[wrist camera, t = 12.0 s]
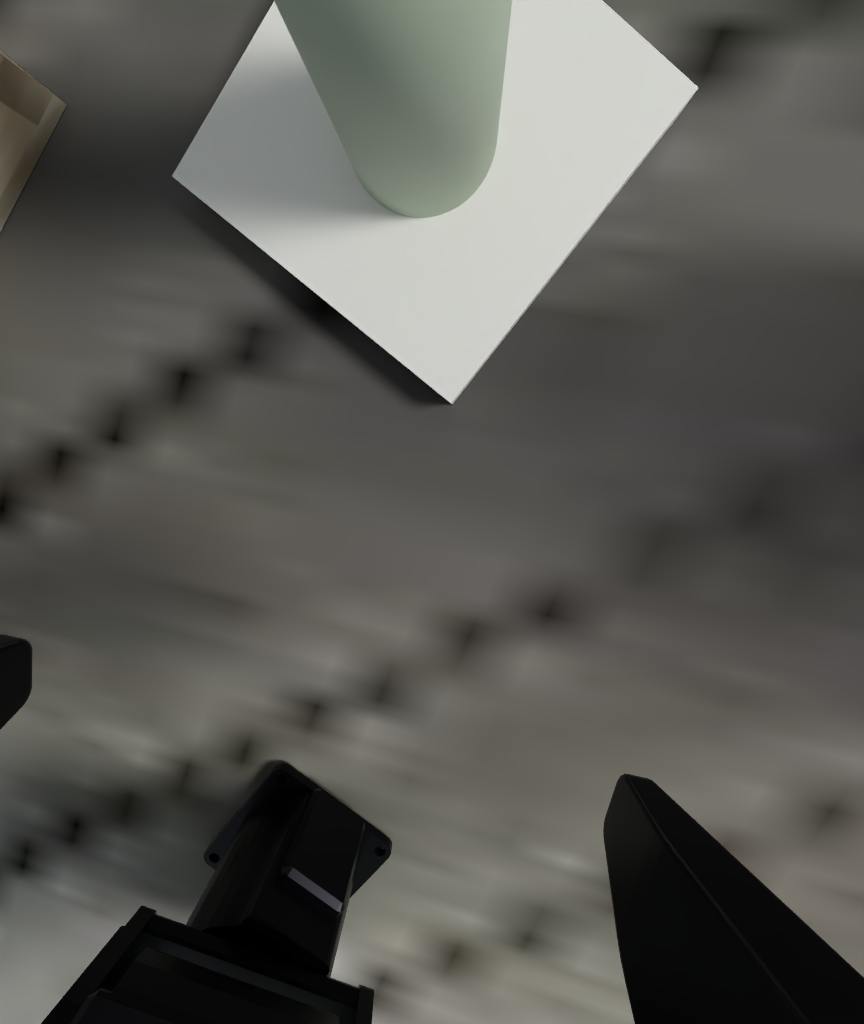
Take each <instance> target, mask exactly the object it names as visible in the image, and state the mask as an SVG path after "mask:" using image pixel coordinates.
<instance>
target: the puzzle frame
mask: <svg viewBox="0 0 864 1024" xmlns="http://www.w3.org/2000/svg"><path fill="white" fill-rule="evenodd" d="M66 106H67V105H66V104H65V103H64V102H63V101H62V100H60V99H59V98H58V97H57V96H55V95H54V94H53V93H52V92H50V91H49V90H48V89H47V88H46V87H44V86H43V85H42V84H41V83H39V82H38V81H37V80H36V79H34V78H33V77H32V76H31V75H30V74H28V73H27V72H26V71H25V70H23V69H22V68H21V67H20V66H18V65H17V64H16V63H15V62H14V61H12V60H11V59H10V58H9V57H7V56H6V55H5V54H4V53H2V52H1V51H0V232H1V230H2V228H3V226H4V224H5V222H6V220H7V218H8V217H9V215H10V213H11V211H12V209H13V207H14V205H15V203H16V201H17V199H18V197H19V196H20V194H21V192H22V190H23V188H24V186H25V184H26V182H27V180H28V178H29V176H30V175H31V173H32V171H33V169H34V167H35V165H36V163H37V161H38V159H39V157H40V155H41V153H42V152H43V150H44V148H45V146H46V144H47V142H48V140H49V138H50V136H51V134H52V132H53V131H54V129H55V127H56V125H57V123H58V121H59V119H60V117H61V115H62V113H63V111H64V109H65V108H66Z"/></svg>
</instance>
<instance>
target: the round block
mask: <svg viewBox="0 0 864 1024" xmlns="http://www.w3.org/2000/svg"><path fill="white" fill-rule="evenodd" d="M274 1H275V4H276V6H277V8H278V10H279V12H280V14H281V16H282V18H283V20H284V23H285V25H286V27H287V29H288V31H289V33H290V35H291V37H292V39H293V42H294V44H295V46H296V48H297V50H298V52H299V54H300V56H301V58H302V61H303V63H304V65H305V67H306V69H307V71H308V73H309V75H310V77H311V80H312V82H313V84H314V86H315V88H316V90H317V92H318V94H319V96H320V98H321V101H322V103H323V105H324V107H325V109H326V111H327V113H328V115H329V117H330V120H331V122H332V124H333V126H334V128H335V130H336V132H337V134H338V136H339V139H340V141H341V143H342V145H343V147H344V149H345V151H346V153H347V155H348V158H349V160H350V162H351V164H352V166H353V168H354V170H355V172H356V174H357V176H358V179H359V180H360V182H361V184H362V185H363V187H364V188H365V190H366V191H367V192H368V193H369V194H370V195H371V197H373V198H374V199H375V200H376V201H377V202H378V203H379V204H381V205H382V206H384V207H385V208H387V209H389V210H391V211H392V212H394V213H397V214H400V215H403V216H408V217H413V218H426V217H434V216H438V215H442V214H444V213H447V212H449V211H451V210H453V209H455V208H457V207H458V206H460V205H461V204H462V203H464V202H465V201H466V200H468V199H469V198H470V197H471V196H472V195H473V194H474V193H475V191H476V190H477V189H478V188H479V186H480V185H481V184H482V182H483V180H484V179H485V177H486V175H487V173H488V171H489V169H490V167H491V164H492V161H493V158H494V155H495V150H496V145H497V137H498V127H499V118H500V109H501V99H502V90H503V81H504V71H505V62H506V53H507V43H508V34H509V25H510V15H511V6H512V0H274Z"/></svg>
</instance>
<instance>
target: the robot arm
mask: <svg viewBox="0 0 864 1024" xmlns="http://www.w3.org/2000/svg"><path fill="white" fill-rule="evenodd" d="M31 689H32V647H31V644H30V643H29V642H28V641H27V640H25V639H21V638H17V637H12V636H8V635H1V634H0V729H1V728H2V727H3V726H4V725H5V724H6V723H7V722H8V721H9V720H10V719H11V718H12V717H13V716H14V715H15V714H16V713H17V711H18V710H19V709H20V708H21V707H22V706H23V705H24V704H25V702H26V701H27V699H28V697H29V695H30V692H31ZM280 775H284V776H285V777H286V778H282V777H281V776H280ZM603 833H604V844H605V851H606V858H607V866H608V873H609V881H610V888H611V895H612V903H613V910H614V918H615V925H616V932H617V939H618V946H619V952H620V958H621V963H622V968H623V973H624V978H625V982H626V987H627V991H628V995H629V1000H630V1004H631V1009H632V1013H633V1017H634V1022H635V1024H864V977H863V976H861V975H860V974H859V973H858V972H857V971H856V970H855V969H854V968H853V967H852V966H851V965H850V964H849V963H847V962H846V961H845V960H844V959H843V958H842V957H841V956H840V955H839V954H838V953H837V952H836V951H835V950H834V949H832V948H831V947H830V946H829V945H828V944H827V943H826V942H825V941H824V940H823V939H822V938H821V937H820V936H819V935H817V934H816V933H815V932H814V931H813V930H812V929H811V928H810V927H809V926H808V925H807V924H806V923H805V922H804V921H802V920H801V919H800V918H799V917H798V916H797V915H796V914H795V913H794V912H793V911H792V910H791V909H790V908H789V907H787V906H786V905H785V904H784V903H783V902H782V901H781V900H780V899H779V898H778V897H777V896H776V895H775V894H773V893H772V892H771V891H770V890H769V889H768V888H767V887H766V886H765V885H764V884H763V883H762V882H761V881H760V880H758V879H757V878H756V877H755V876H754V875H753V874H752V873H751V872H750V871H749V870H748V869H747V868H746V867H745V866H743V865H742V864H741V863H740V862H739V861H738V860H737V859H736V858H735V857H734V856H733V855H732V854H731V853H730V852H728V851H727V850H726V849H725V848H724V847H723V846H722V845H721V844H720V843H719V842H718V841H717V840H716V839H715V838H713V837H712V836H711V835H710V834H709V833H708V832H707V831H706V830H705V829H704V828H703V827H702V826H701V825H699V824H698V823H697V822H696V821H695V820H694V819H693V818H692V817H691V816H690V815H689V814H688V813H687V812H686V811H684V810H683V809H682V808H681V807H680V806H679V805H678V804H677V803H676V802H675V801H674V800H673V799H672V798H671V797H669V796H668V795H667V794H666V793H665V792H664V791H663V790H662V789H661V788H660V787H659V786H658V785H657V784H656V783H654V782H653V781H652V780H650V779H648V778H643V777H639V776H634V775H630V774H624V775H621V776H620V778H619V779H618V781H617V783H616V786H615V789H614V792H613V795H612V798H611V801H610V804H609V807H608V810H607V813H606V817H605V820H604V829H603ZM378 847H383V848H384V849H380V848H378ZM391 849H392V842H391V840H390V839H389V838H388V837H387V836H386V835H384V834H383V833H382V832H380V831H379V830H378V829H376V828H375V827H374V826H372V825H371V824H369V823H368V822H367V821H365V820H364V819H363V818H361V817H360V816H359V815H357V814H356V813H354V812H353V811H352V810H350V809H349V808H348V807H346V806H345V805H344V804H342V803H341V802H339V801H338V800H337V799H335V798H334V797H333V796H331V795H330V794H329V793H327V792H326V791H324V790H323V789H322V788H320V787H319V786H318V785H316V784H315V783H313V782H312V781H311V780H309V779H308V778H307V777H305V776H304V775H303V774H301V773H300V772H298V771H297V770H296V769H294V768H293V767H292V766H290V765H288V764H284V763H282V764H278V765H277V766H276V767H275V768H274V769H273V770H272V771H271V773H270V774H269V775H268V776H267V777H266V779H265V780H264V781H263V782H262V783H261V784H260V786H259V787H258V788H257V789H256V790H255V792H254V793H253V794H252V795H251V796H250V797H249V799H248V800H247V801H246V802H245V803H244V805H243V806H242V807H241V808H240V809H239V810H238V812H237V813H236V814H235V815H234V816H233V818H232V819H231V820H230V821H229V822H228V823H227V825H226V826H225V827H224V828H223V829H222V831H221V832H220V833H219V834H218V835H217V836H216V838H215V839H214V840H213V841H212V842H211V844H210V845H209V847H208V848H207V850H206V852H205V854H204V860H205V862H206V863H207V864H208V865H210V866H211V867H212V868H214V869H215V872H214V874H213V876H212V878H211V879H210V881H209V883H208V885H207V887H206V889H205V890H204V892H203V894H202V896H201V898H200V899H199V901H198V903H197V905H196V907H195V909H194V910H193V912H192V914H191V916H190V918H189V919H188V921H187V923H186V925H184V924H182V923H179V922H176V921H173V920H171V919H168V918H165V917H162V916H160V915H157V914H156V910H153V909H150V908H147V907H145V906H141V907H140V908H139V909H138V911H137V912H136V913H135V914H134V916H133V917H132V918H131V919H130V920H129V922H128V923H127V924H126V925H125V926H121V927H120V928H119V929H118V931H117V932H116V933H115V934H114V936H113V937H112V938H111V939H110V940H109V942H108V943H107V944H106V945H105V946H104V948H103V949H102V950H101V951H100V953H99V954H98V955H97V956H96V957H95V959H94V960H93V961H92V962H91V963H90V965H89V966H88V967H87V968H86V970H85V971H84V972H83V973H82V974H81V976H80V977H79V978H78V979H77V981H76V982H75V983H74V984H73V985H72V987H71V988H70V989H69V990H68V991H67V993H66V994H65V995H64V996H63V998H62V999H61V1000H60V1001H59V1002H58V1004H57V1005H56V1006H55V1007H54V1008H53V1010H52V1011H51V1012H50V1013H49V1015H48V1016H47V1017H46V1018H45V1019H44V1021H43V1022H42V1023H41V1024H372V1011H373V998H374V990H373V989H370V988H368V987H365V986H362V985H359V987H355V986H352V985H349V984H347V983H344V982H341V981H338V980H336V979H333V978H330V976H331V972H332V968H333V964H334V960H335V956H336V952H337V947H338V943H339V939H340V935H341V931H342V927H343V923H344V919H345V915H346V911H347V906H348V902H349V899H350V897H351V896H352V895H353V894H354V893H355V892H356V891H357V890H358V889H359V888H360V887H361V886H362V885H363V884H364V883H365V882H366V881H367V880H368V879H369V878H370V877H371V876H372V875H373V874H374V873H375V871H376V870H377V869H378V868H379V867H380V866H381V865H382V864H383V863H384V862H385V861H386V860H387V859H388V858H389V856H390V855H391ZM216 854H217V855H216Z"/></svg>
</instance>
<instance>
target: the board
mask: <svg viewBox="0 0 864 1024" xmlns="http://www.w3.org/2000/svg"><path fill="white" fill-rule="evenodd" d="M697 89H698V87H697V86H696V85H695V84H694V83H693V82H692V81H691V80H689V79H688V78H687V77H686V76H685V75H684V74H683V73H682V72H681V71H680V70H678V69H677V68H676V67H675V66H674V65H673V64H672V63H671V62H670V61H668V60H667V59H666V58H665V57H664V56H663V55H662V54H661V53H660V52H659V51H657V50H656V49H655V48H654V47H653V46H652V45H651V44H650V43H649V42H648V41H646V40H645V39H644V38H643V37H642V36H641V35H640V34H639V33H638V32H636V31H635V30H634V29H633V28H632V27H631V26H630V25H629V24H628V23H627V22H625V21H624V20H623V19H622V18H621V17H620V16H619V15H618V14H617V13H616V12H614V11H613V10H612V9H611V8H610V7H609V6H608V5H607V4H606V3H605V2H603V1H602V0H512V6H511V15H510V25H509V34H508V43H507V53H506V62H505V71H504V81H503V90H502V99H501V109H500V118H499V127H498V137H497V145H496V150H495V155H494V158H493V161H492V164H491V167H490V169H489V171H488V173H487V175H486V177H485V179H484V180H483V182H482V184H481V185H480V186H479V188H478V189H477V190H476V191H475V193H474V194H473V195H472V196H471V197H470V198H469V199H468V200H466V201H465V202H464V203H462V204H461V205H460V206H458V207H457V208H455V209H453V210H451V211H449V212H447V213H444V214H442V215H438V216H434V217H426V218H413V217H408V216H403V215H400V214H397V213H394V212H392V211H391V210H389V209H387V208H385V207H384V206H382V205H381V204H379V203H378V202H377V201H376V200H375V199H374V198H373V197H371V195H370V194H369V193H368V192H367V191H366V190H365V188H364V187H363V185H362V184H361V182H360V180H359V179H358V176H357V174H356V172H355V170H354V168H353V166H352V164H351V162H350V160H349V158H348V155H347V153H346V151H345V149H344V147H343V145H342V143H341V141H340V139H339V136H338V134H337V132H336V130H335V128H334V126H333V124H332V122H331V120H330V117H329V115H328V113H327V111H326V109H325V107H324V105H323V103H322V101H321V98H320V96H319V94H318V92H317V90H316V88H315V86H314V84H313V82H312V80H311V77H310V75H309V73H308V71H307V69H306V67H305V65H304V63H303V61H302V58H301V56H300V54H299V52H298V50H297V48H296V46H295V44H294V42H293V39H292V37H291V35H290V33H289V31H288V29H287V27H286V25H285V23H284V20H283V18H282V16H281V14H280V12H279V10H278V8H277V6H276V4H275V1H274V2H273V4H272V6H271V7H270V9H269V11H268V13H267V14H266V16H265V18H264V19H263V21H262V23H261V25H260V26H259V28H258V30H257V31H256V33H255V35H254V37H253V38H252V40H251V42H250V43H249V45H248V47H247V49H246V50H245V52H244V54H243V55H242V57H241V59H240V61H239V62H238V64H237V66H236V67H235V69H234V71H233V73H232V74H231V76H230V78H229V79H228V81H227V83H226V84H225V86H224V88H223V90H222V91H221V93H220V95H219V96H218V98H217V100H216V102H215V103H214V105H213V107H212V108H211V110H210V112H209V114H208V115H207V117H206V119H205V120H204V122H203V124H202V126H201V127H200V129H199V131H198V132H197V134H196V136H195V138H194V139H193V141H192V143H191V144H190V146H189V148H188V150H187V151H186V153H185V155H184V156H183V158H182V160H181V161H180V163H179V165H178V167H177V168H176V170H175V172H174V173H173V175H172V177H173V178H175V179H176V180H177V181H178V182H180V183H181V184H182V185H183V186H185V187H186V188H187V189H188V190H189V191H191V192H192V193H193V194H194V195H196V196H197V197H198V198H199V199H200V200H202V201H203V202H204V203H205V204H207V205H208V206H209V207H210V208H212V209H213V210H214V211H215V212H216V213H218V214H219V215H220V216H221V217H223V218H224V219H225V220H226V221H227V222H229V223H230V224H231V225H232V226H234V227H235V228H236V229H237V230H239V231H240V232H241V233H242V234H243V235H245V236H246V237H247V238H248V239H250V240H251V241H252V242H253V243H255V244H256V245H257V246H258V247H259V248H261V249H262V250H263V251H264V252H266V253H267V254H268V255H269V256H270V257H272V258H273V259H274V260H275V261H277V262H278V263H279V264H280V265H282V266H283V267H284V268H285V269H286V270H288V271H289V272H290V273H291V274H293V275H294V276H295V277H296V278H297V279H299V280H300V281H301V282H302V283H304V284H305V285H306V286H307V287H309V288H310V289H311V290H312V291H313V292H315V293H316V294H317V295H318V296H320V297H321V298H322V299H323V300H324V301H326V302H327V303H328V304H329V305H331V306H332V307H333V308H334V309H336V310H337V311H338V312H339V313H340V314H342V315H343V316H344V317H345V318H347V319H348V320H349V321H350V322H351V323H353V324H354V325H355V326H356V327H358V328H359V329H360V330H361V331H363V332H364V333H365V334H366V335H367V336H369V337H370V338H371V339H372V340H374V341H375V342H376V343H377V344H379V345H380V346H381V347H382V348H383V349H385V350H386V351H387V352H388V353H390V354H391V355H392V356H393V357H394V358H396V359H397V360H398V361H399V362H401V363H402V364H403V365H404V366H406V367H407V368H408V369H409V370H410V371H412V372H413V373H414V374H415V375H417V376H418V377H419V378H420V379H421V380H423V381H424V382H425V383H426V384H428V385H429V386H430V387H431V388H433V389H434V390H435V391H436V392H437V393H439V394H440V395H441V396H442V397H444V398H445V399H446V400H447V401H448V402H450V403H451V404H453V403H454V402H455V400H456V399H457V398H458V397H459V395H460V394H461V393H462V392H463V390H464V389H465V388H466V386H467V385H468V384H469V383H470V381H471V380H472V379H473V378H474V376H475V375H476V374H477V372H478V371H479V370H480V369H481V367H482V366H483V365H484V363H485V362H486V361H487V360H488V358H489V357H490V356H491V355H492V353H493V352H494V351H495V349H496V348H497V347H498V346H499V344H500V343H501V342H502V340H503V339H504V338H505V337H506V335H507V334H508V333H509V332H510V330H511V329H512V328H513V326H514V325H515V324H516V323H517V321H518V320H519V319H520V318H521V316H522V315H523V314H524V312H525V311H526V310H527V309H528V307H529V306H530V305H531V303H532V302H533V301H534V300H535V298H536V297H537V296H538V295H539V293H540V292H541V291H542V289H543V288H544V287H545V286H546V284H547V283H548V282H549V280H550V279H551V278H552V277H553V275H554V274H555V273H556V272H557V270H558V269H559V268H560V266H561V265H562V264H563V263H564V261H565V260H566V259H567V258H568V256H569V255H570V254H571V252H572V251H573V250H574V249H575V247H576V246H577V245H578V243H579V242H580V241H581V240H582V238H583V237H584V236H585V235H586V233H587V232H588V231H589V229H590V228H591V227H592V226H593V224H594V223H595V222H596V220H597V219H598V218H599V217H600V215H601V214H602V213H603V212H604V210H605V209H606V208H607V206H608V205H609V204H610V203H611V201H612V200H613V199H614V197H615V196H616V195H617V194H618V192H619V191H620V190H621V189H622V187H623V186H624V185H625V183H626V182H627V181H628V180H629V178H630V177H631V176H632V175H633V173H634V172H635V171H636V169H637V168H638V167H639V166H640V164H641V163H642V162H643V160H644V159H645V158H646V157H647V155H648V154H649V153H650V152H651V150H652V149H653V148H654V146H655V145H656V144H657V143H658V141H659V140H660V139H661V137H662V136H663V135H664V134H665V132H666V131H667V130H668V129H669V127H670V126H671V125H672V123H673V122H674V121H675V120H676V118H677V117H678V116H679V114H680V113H681V112H682V110H683V109H684V107H685V106H686V105H687V103H688V102H689V100H690V99H691V98H692V96H693V95H694V93H695V92H696V91H697Z"/></svg>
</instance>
